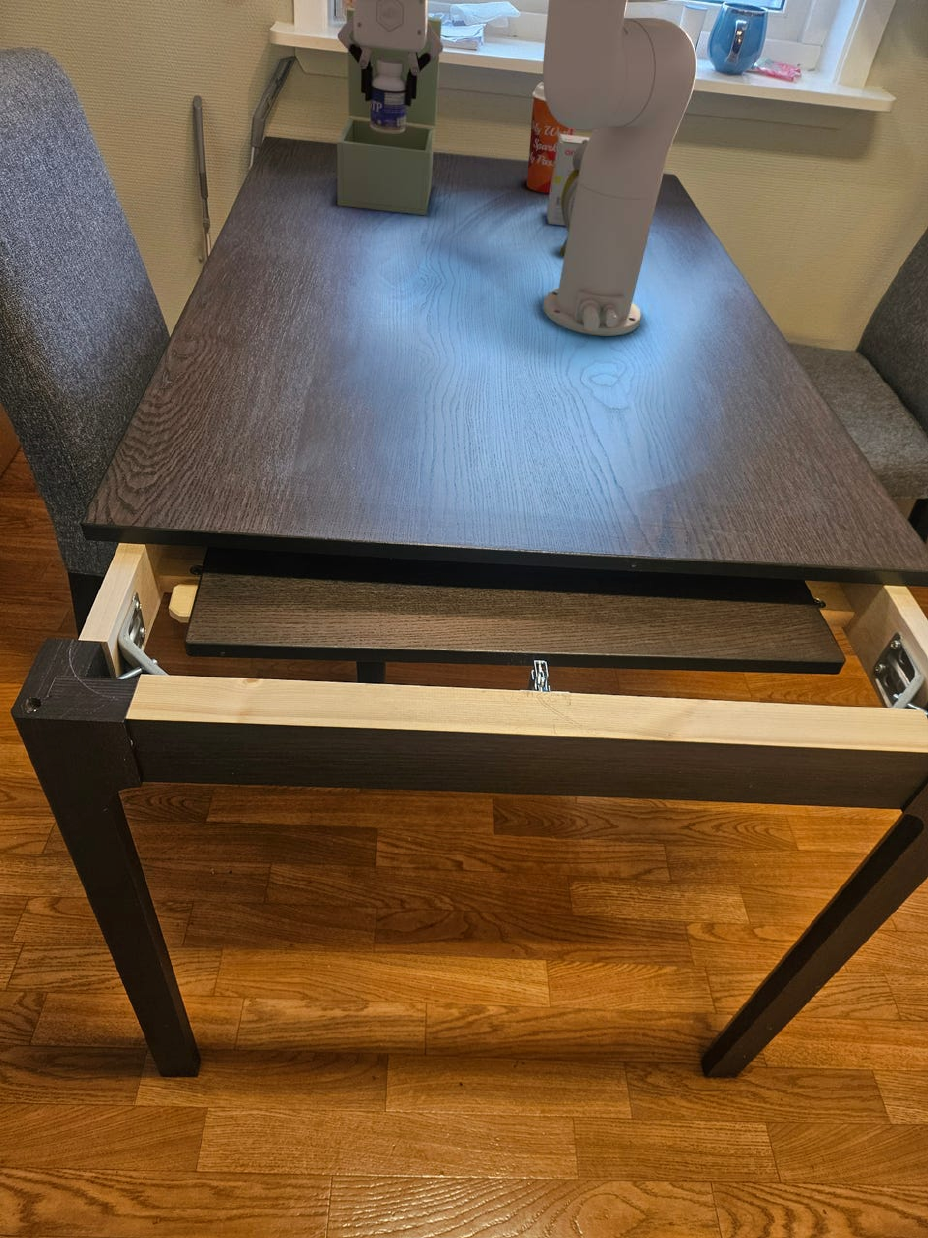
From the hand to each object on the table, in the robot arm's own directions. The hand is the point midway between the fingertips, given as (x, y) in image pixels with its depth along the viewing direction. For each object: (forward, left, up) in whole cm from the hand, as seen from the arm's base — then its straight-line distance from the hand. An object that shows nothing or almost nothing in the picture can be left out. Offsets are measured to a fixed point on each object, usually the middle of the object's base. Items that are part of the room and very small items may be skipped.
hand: (388, 100), depth 124 cm
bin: (+1, 0, -14) cm, 14 cm away
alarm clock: (-14, -32, -14) cm, 38 cm away
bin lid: (+6, 0, +3) cm, 7 cm away
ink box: (-1, -30, -14) cm, 33 cm away
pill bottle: (0, 0, -4) cm, 4 cm away
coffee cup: (+15, -26, -14) cm, 33 cm away
